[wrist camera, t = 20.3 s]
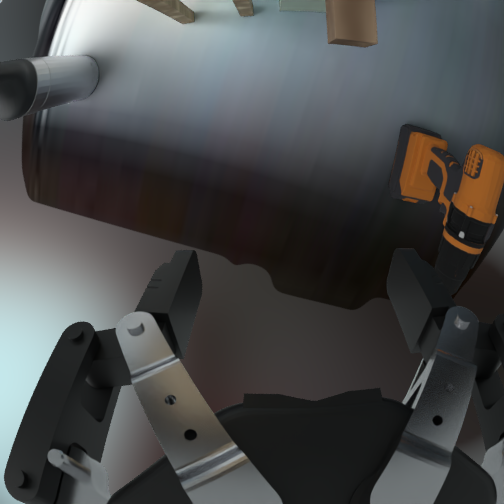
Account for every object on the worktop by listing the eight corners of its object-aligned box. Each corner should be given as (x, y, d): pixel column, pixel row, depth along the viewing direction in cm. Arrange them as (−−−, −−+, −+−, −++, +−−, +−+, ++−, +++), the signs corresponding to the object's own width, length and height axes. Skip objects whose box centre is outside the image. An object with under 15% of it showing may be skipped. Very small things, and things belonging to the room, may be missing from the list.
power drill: (408, 225, 53) (466, 311, 32) (377, 221, 53) (427, 311, 33) (435, 123, 42) (527, 167, 21) (401, 112, 42) (490, 149, 21)
